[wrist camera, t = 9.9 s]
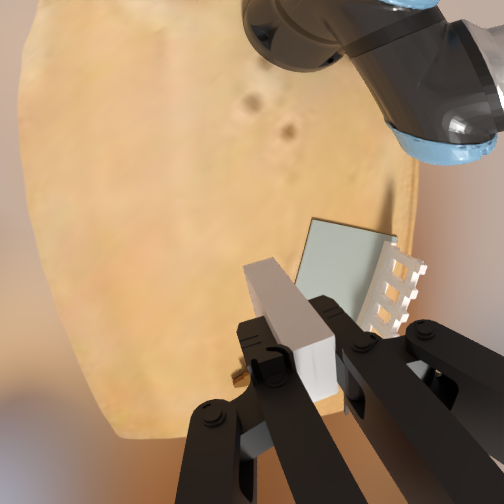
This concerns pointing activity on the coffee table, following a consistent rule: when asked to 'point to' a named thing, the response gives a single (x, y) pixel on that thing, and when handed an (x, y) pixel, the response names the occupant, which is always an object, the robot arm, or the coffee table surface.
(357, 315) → the board
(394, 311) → the fence panel
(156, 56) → the coffee table surface
